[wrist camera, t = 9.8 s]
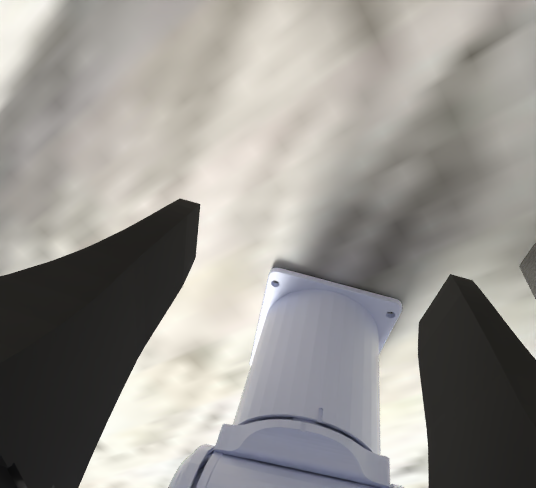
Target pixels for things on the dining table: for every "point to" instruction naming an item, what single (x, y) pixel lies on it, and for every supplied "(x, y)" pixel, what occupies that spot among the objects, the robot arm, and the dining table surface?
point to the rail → (530, 269)
